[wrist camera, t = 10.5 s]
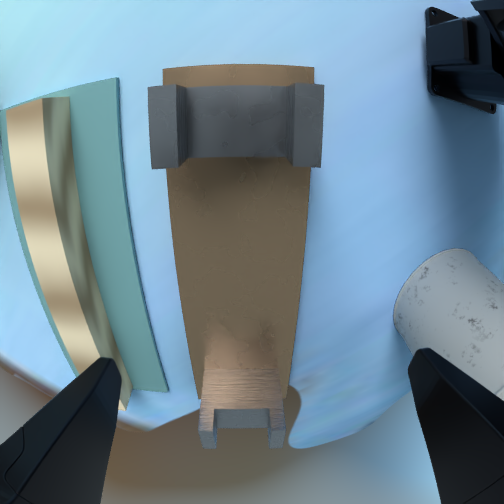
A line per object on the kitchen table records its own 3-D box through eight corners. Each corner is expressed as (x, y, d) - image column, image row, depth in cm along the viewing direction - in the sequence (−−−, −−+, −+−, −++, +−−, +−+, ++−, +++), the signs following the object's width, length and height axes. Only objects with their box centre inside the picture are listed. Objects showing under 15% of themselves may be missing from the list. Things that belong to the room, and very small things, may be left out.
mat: (118, 77, 14) (116, 77, 14) (168, 389, 26) (168, 392, 26) (2, 110, 14) (-1, 111, 14) (79, 378, 26) (78, 380, 25)
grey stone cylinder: (481, 306, 23) (547, 393, 12) (403, 354, 25) (452, 461, 14) (476, 228, 19) (579, 318, 8) (381, 284, 21) (458, 418, 10)
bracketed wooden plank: (167, 70, 14) (121, 52, 8) (310, 69, 15) (351, 49, 8) (199, 391, 26) (192, 454, 20) (285, 390, 26) (293, 454, 20)
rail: (34, 106, 14) (6, 110, 11) (69, 96, 14) (42, 97, 11) (105, 382, 25) (97, 406, 23) (132, 386, 25) (125, 410, 23)
